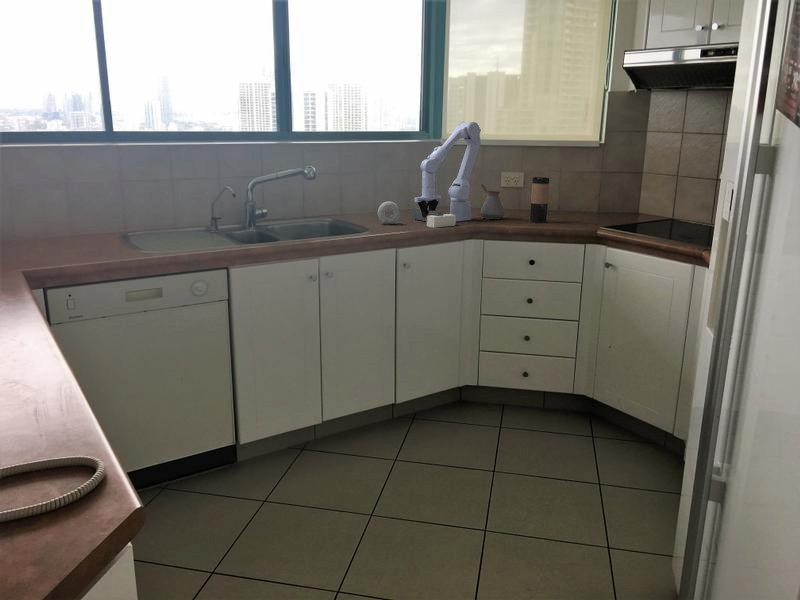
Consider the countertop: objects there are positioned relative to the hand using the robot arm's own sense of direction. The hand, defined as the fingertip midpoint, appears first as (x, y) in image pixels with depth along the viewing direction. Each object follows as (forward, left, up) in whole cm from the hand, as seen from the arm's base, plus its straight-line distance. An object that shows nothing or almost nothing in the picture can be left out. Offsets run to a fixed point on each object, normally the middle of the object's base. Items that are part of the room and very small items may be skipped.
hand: (427, 217), depth 302 cm
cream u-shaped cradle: (+4, +13, -2) cm, 14 cm away
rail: (0, 0, -2) cm, 2 cm away
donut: (+20, -3, -2) cm, 20 cm away
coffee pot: (-34, +5, -2) cm, 34 cm away
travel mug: (-42, +29, -2) cm, 51 cm away
